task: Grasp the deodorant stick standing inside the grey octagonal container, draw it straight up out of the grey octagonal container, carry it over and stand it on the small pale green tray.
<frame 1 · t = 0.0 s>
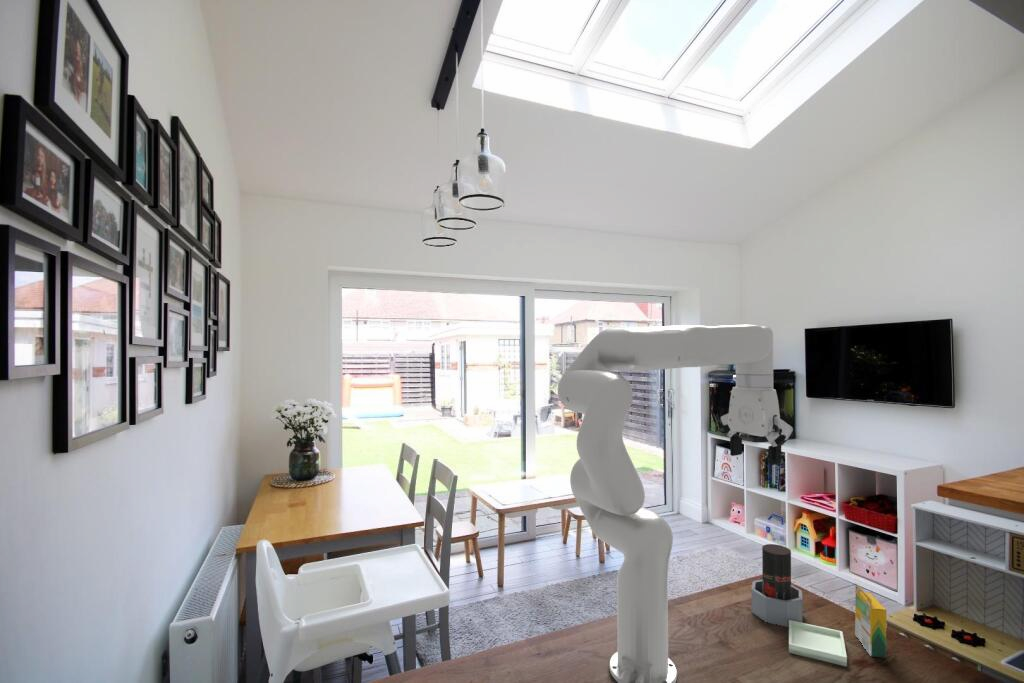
hand: (754, 459, 116), 37 cm above the table, tool pointing down, fingers open, 9 cm apart
crayon box: (870, 648, 109), on the table
grey octagonal container: (776, 613, 122), on the table
tray: (816, 646, 109), on the table
deodorant: (776, 614, 122), resting in grey octagonal container
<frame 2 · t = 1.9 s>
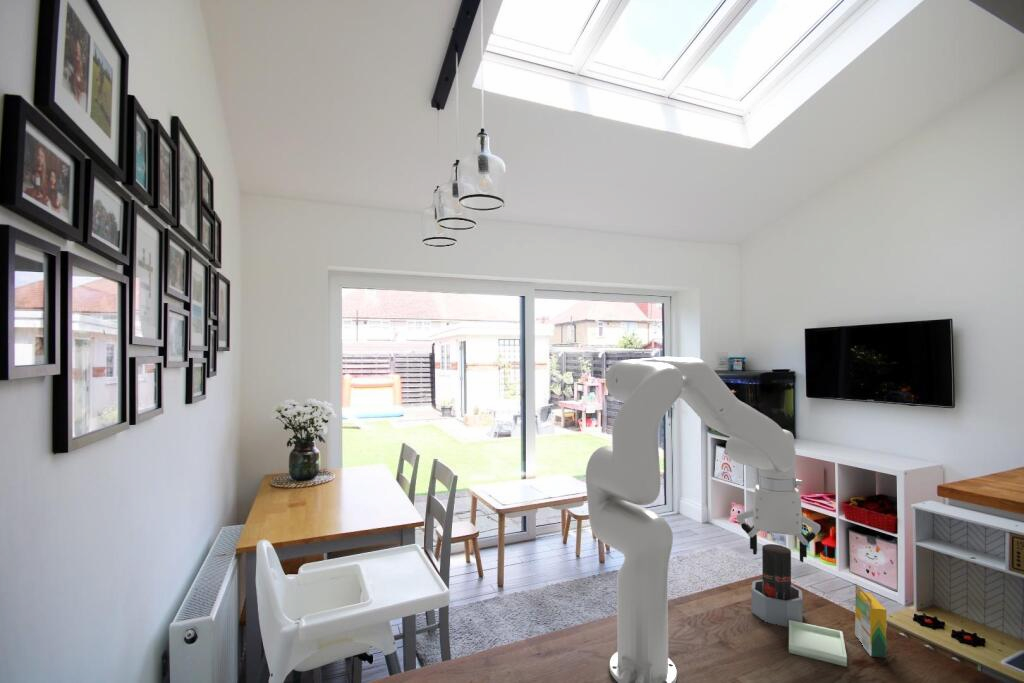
hand: (777, 555, 122), 13 cm above the table, tool pointing down, fingers open, 9 cm apart
nothing on the table moved.
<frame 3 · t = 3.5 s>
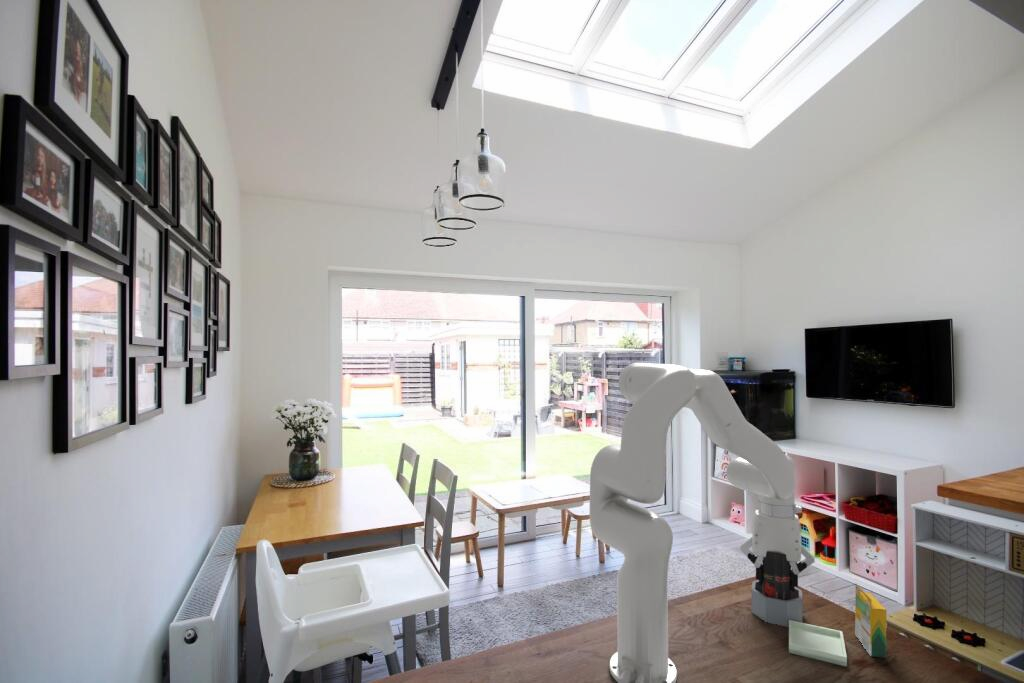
hand: (776, 585, 122), 7 cm above the table, tool pointing down, fingers closed on deodorant, 6 cm apart
deodorant: (776, 614, 122), resting in grey octagonal container, touching gripper
everything else where it was.
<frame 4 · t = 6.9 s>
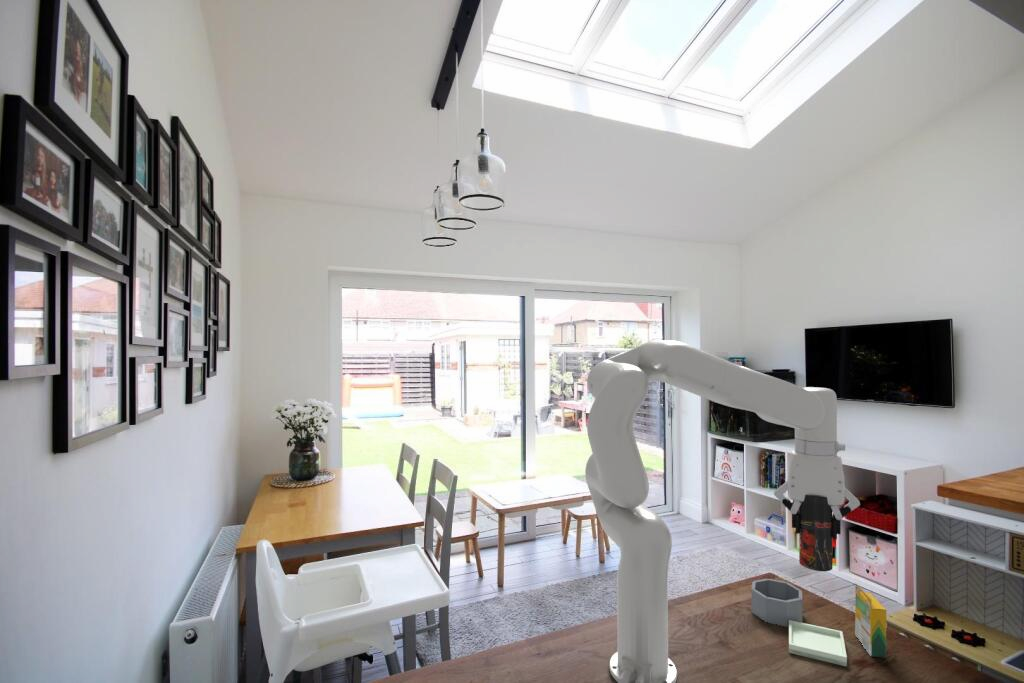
hand: (815, 533, 109), 24 cm above the table, tool pointing down, fingers closed on deodorant, 6 cm apart
deodorant: (815, 565, 109), point 17 cm above the table, touching gripper
everything else where it was.
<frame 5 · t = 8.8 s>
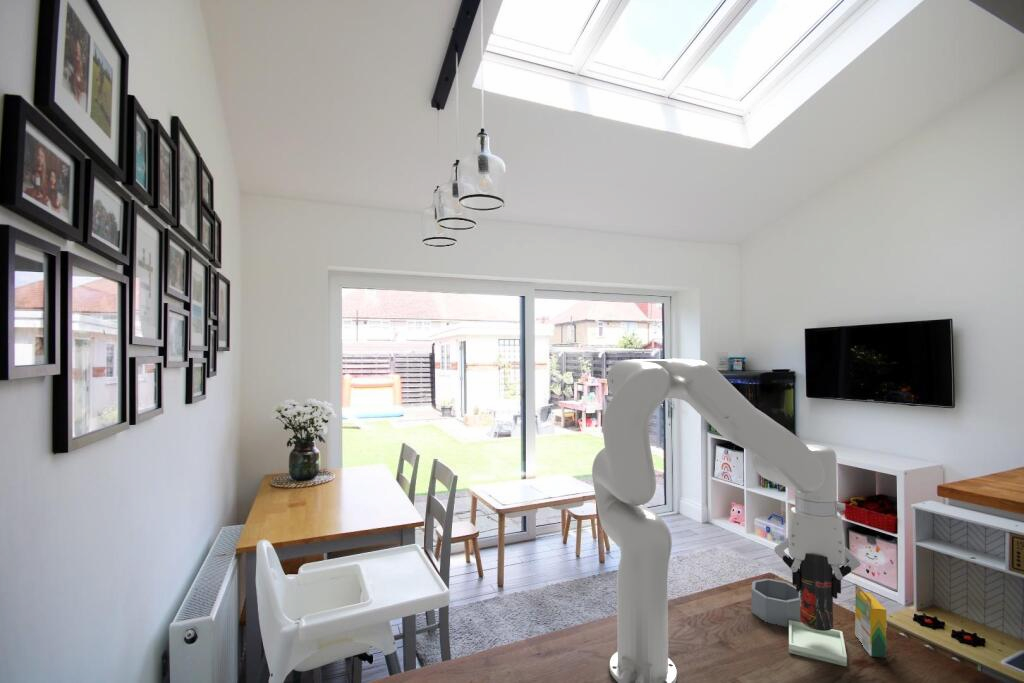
hand: (816, 591, 109), 11 cm above the table, tool pointing down, fingers closed on deodorant, 6 cm apart
deodorant: (816, 623, 109), point 5 cm above the table, touching gripper
everything else where it was.
when the fingers open (9 cm above the table, at t = 10.3 s): deodorant drops 1 cm, resting on tray.
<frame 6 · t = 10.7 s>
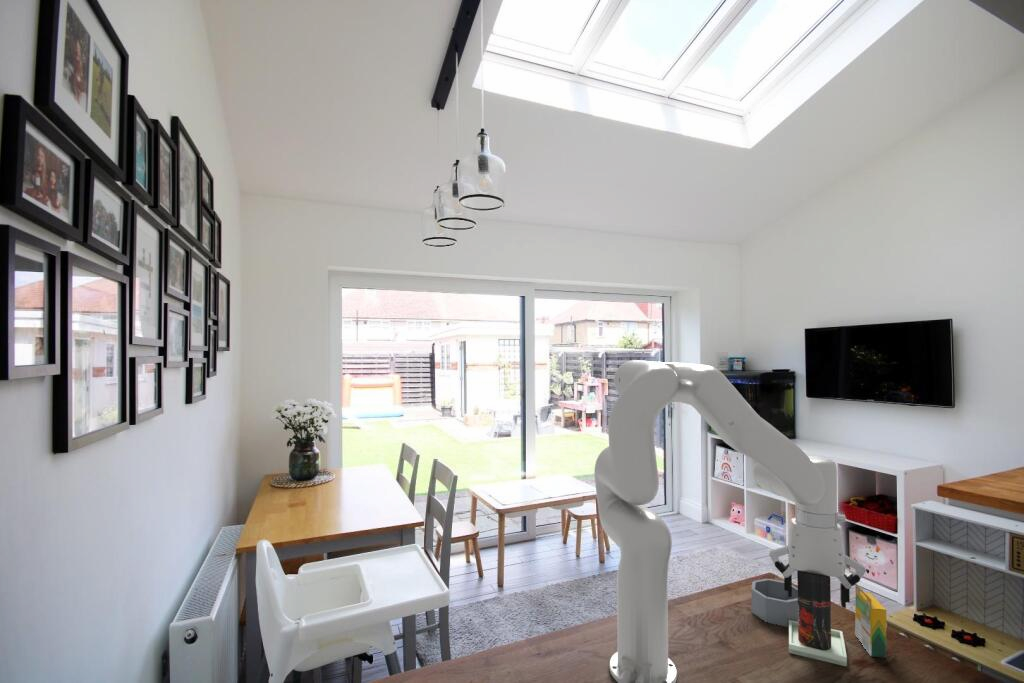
hand: (815, 599, 109), 10 cm above the table, tool pointing down, fingers open, 9 cm apart
deodorant: (814, 643, 109), point 1 cm above the table, touching tray
everything else where it was.
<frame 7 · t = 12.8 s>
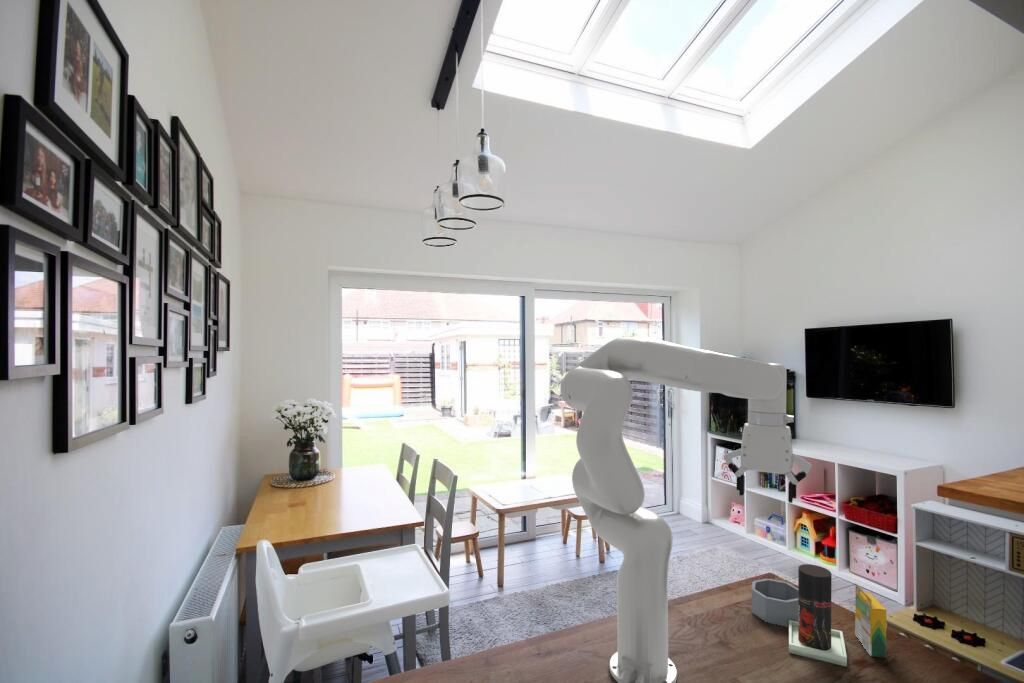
hand: (765, 497, 115), 29 cm above the table, tool pointing down, fingers open, 9 cm apart
nothing on the table moved.
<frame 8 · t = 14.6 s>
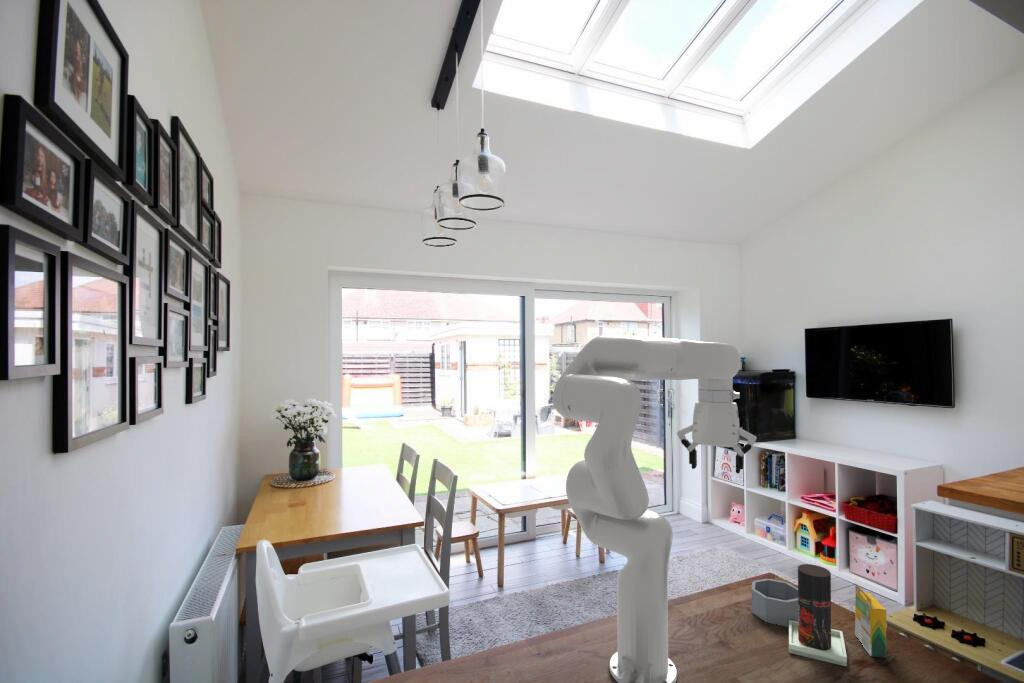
hand: (715, 469, 123), 33 cm above the table, tool pointing down, fingers open, 9 cm apart
nothing on the table moved.
at the end: deodorant inside the target area on the tray (0.3 cm from its centre), point 0.6 cm above the tray's base; deodorant tilted 0°; the gripper is holding nothing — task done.
